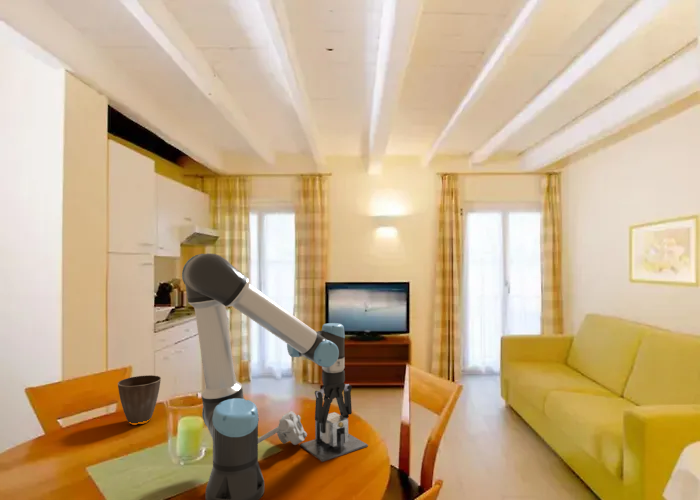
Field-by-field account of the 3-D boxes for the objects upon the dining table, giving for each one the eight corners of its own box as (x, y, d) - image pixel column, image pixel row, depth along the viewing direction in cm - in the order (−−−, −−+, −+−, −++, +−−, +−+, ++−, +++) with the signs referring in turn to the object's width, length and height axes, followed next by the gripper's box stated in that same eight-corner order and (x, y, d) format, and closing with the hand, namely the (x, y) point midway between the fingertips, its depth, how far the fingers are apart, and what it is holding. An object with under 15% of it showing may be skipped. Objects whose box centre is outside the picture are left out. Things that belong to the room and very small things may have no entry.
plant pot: (107, 427, 155) (108, 384, 156) (138, 413, 169) (139, 373, 170) (139, 431, 151) (140, 387, 151) (169, 417, 165) (169, 376, 165)
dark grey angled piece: (322, 461, 128) (322, 437, 128) (299, 445, 139) (300, 422, 139) (367, 446, 139) (367, 423, 139) (343, 432, 150) (343, 411, 150)
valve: (310, 439, 142) (293, 437, 129) (265, 466, 142) (244, 465, 129) (299, 411, 147) (282, 406, 134) (256, 436, 147) (235, 433, 134)
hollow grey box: (334, 447, 133) (333, 423, 134) (320, 438, 140) (319, 416, 140) (349, 442, 137) (348, 419, 137) (334, 433, 144) (334, 412, 144)
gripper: (315, 377, 131) (315, 451, 130) (362, 367, 142) (362, 435, 141) (303, 372, 137) (303, 442, 136) (349, 363, 148) (350, 428, 148)
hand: (333, 439), depth 139 cm, fingers closed on hollow grey box, 6 cm apart
